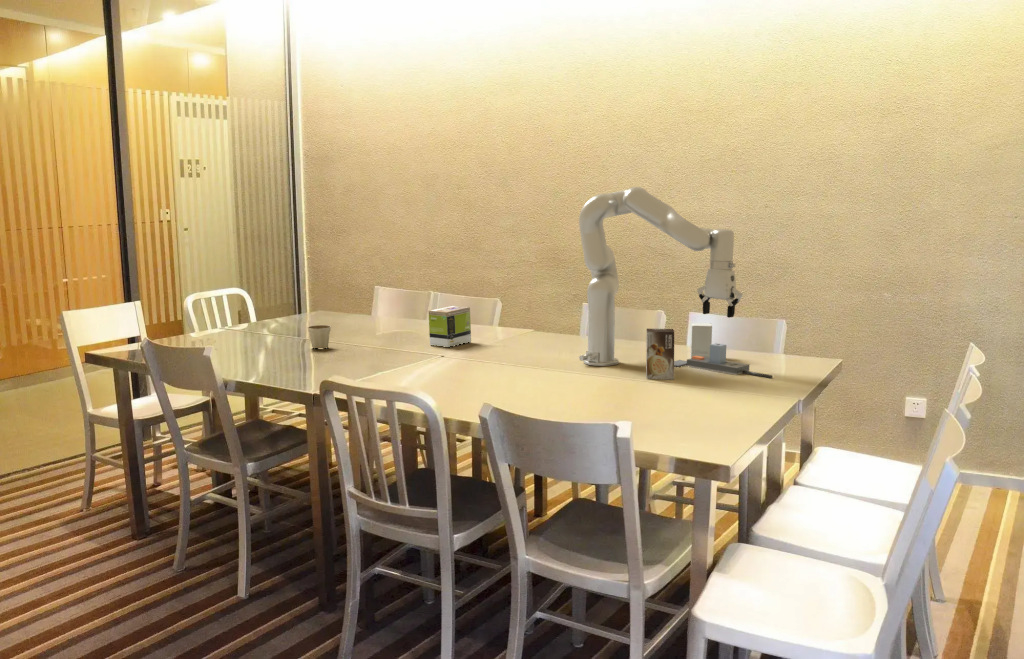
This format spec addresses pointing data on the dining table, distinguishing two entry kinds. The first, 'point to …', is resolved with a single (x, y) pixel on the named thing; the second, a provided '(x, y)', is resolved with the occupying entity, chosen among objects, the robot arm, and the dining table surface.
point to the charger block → (717, 353)
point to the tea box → (449, 326)
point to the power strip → (722, 366)
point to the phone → (680, 363)
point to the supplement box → (701, 339)
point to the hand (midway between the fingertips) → (718, 315)
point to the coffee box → (660, 354)
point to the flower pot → (319, 335)
